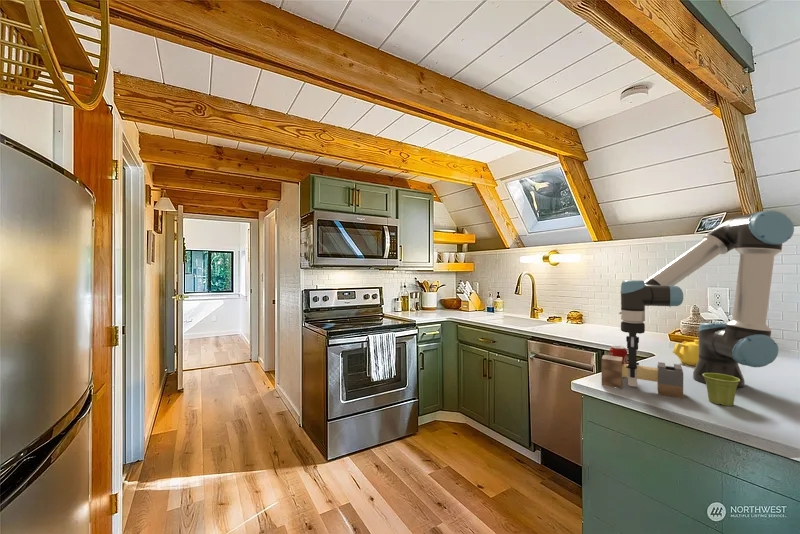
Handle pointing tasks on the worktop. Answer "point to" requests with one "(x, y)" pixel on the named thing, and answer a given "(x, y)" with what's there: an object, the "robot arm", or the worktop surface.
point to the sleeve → (670, 380)
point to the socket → (612, 371)
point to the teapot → (688, 352)
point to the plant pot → (721, 388)
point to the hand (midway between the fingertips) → (632, 383)
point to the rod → (642, 372)
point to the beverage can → (619, 353)
